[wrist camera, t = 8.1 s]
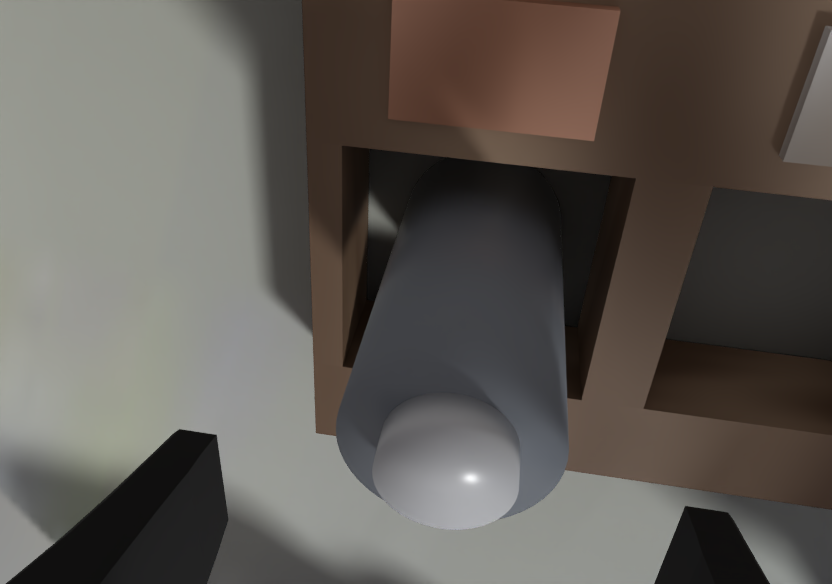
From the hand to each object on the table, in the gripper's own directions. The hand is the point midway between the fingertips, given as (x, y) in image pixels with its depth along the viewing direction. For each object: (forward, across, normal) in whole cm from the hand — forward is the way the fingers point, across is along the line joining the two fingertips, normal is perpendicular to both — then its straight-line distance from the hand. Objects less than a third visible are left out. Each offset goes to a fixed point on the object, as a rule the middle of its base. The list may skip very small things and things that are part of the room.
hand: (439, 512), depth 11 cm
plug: (+9, 0, 0) cm, 9 cm away
